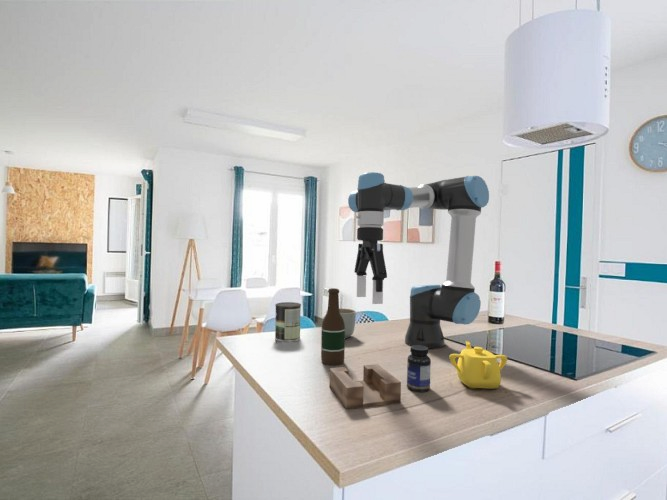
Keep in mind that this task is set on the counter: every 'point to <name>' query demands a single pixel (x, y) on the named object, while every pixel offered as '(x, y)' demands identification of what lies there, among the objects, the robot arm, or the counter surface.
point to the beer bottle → (333, 332)
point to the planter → (348, 320)
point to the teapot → (478, 367)
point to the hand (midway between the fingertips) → (368, 300)
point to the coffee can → (287, 321)
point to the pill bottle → (418, 369)
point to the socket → (365, 387)
